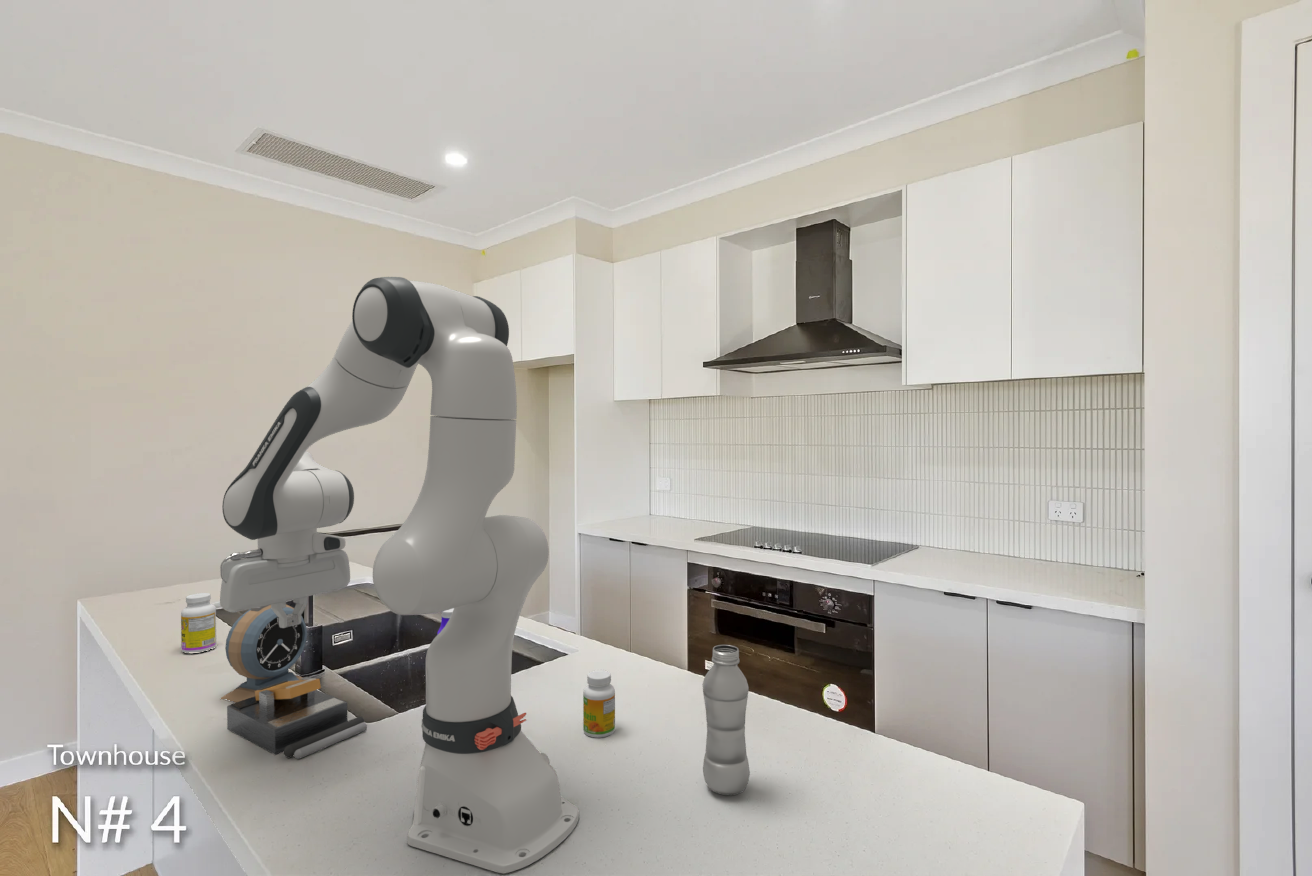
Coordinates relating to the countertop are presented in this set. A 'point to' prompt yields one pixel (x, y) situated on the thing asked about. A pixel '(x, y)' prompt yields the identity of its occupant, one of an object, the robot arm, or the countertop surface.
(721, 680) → the plastic bottle
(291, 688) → the orange striped box
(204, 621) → the supplement bottle
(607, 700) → the supplement bottle
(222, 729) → the countertop surface
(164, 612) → the countertop surface
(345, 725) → the grey rounded bar
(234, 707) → the dark grey block
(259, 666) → the alarm clock
